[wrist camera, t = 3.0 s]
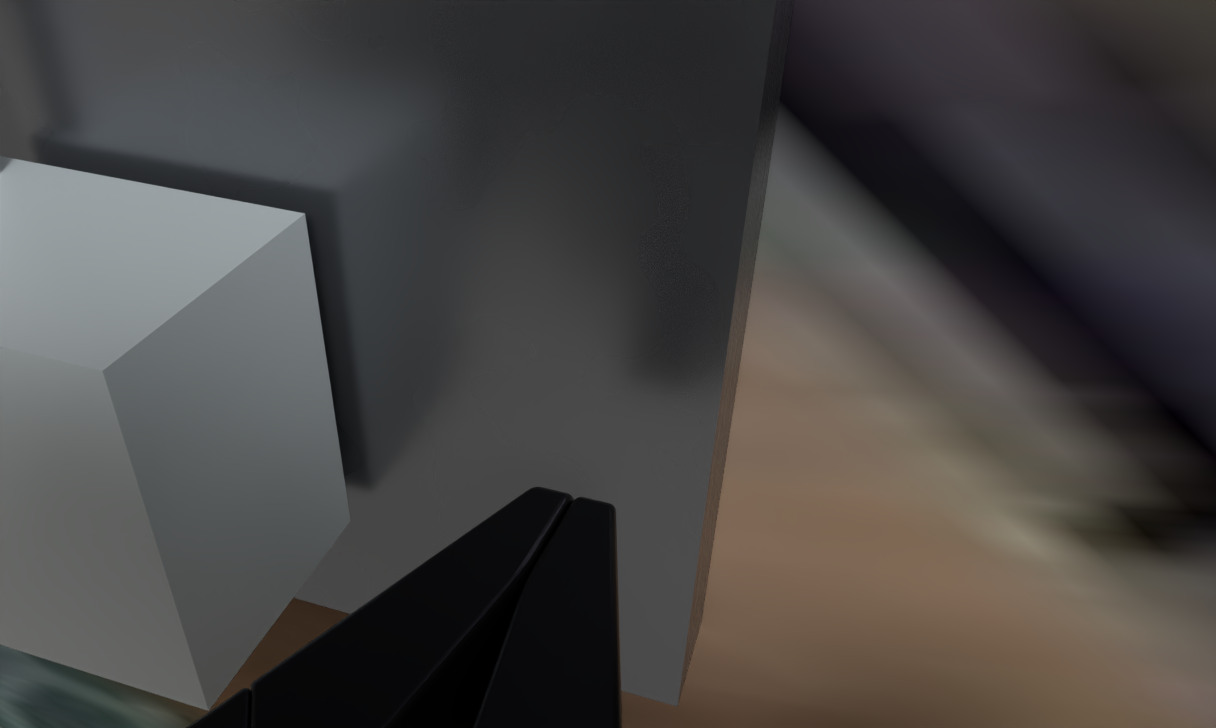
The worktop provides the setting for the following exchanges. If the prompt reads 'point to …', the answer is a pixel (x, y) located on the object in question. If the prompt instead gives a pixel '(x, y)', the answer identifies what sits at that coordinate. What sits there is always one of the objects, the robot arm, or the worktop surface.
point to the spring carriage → (157, 427)
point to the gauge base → (468, 242)
